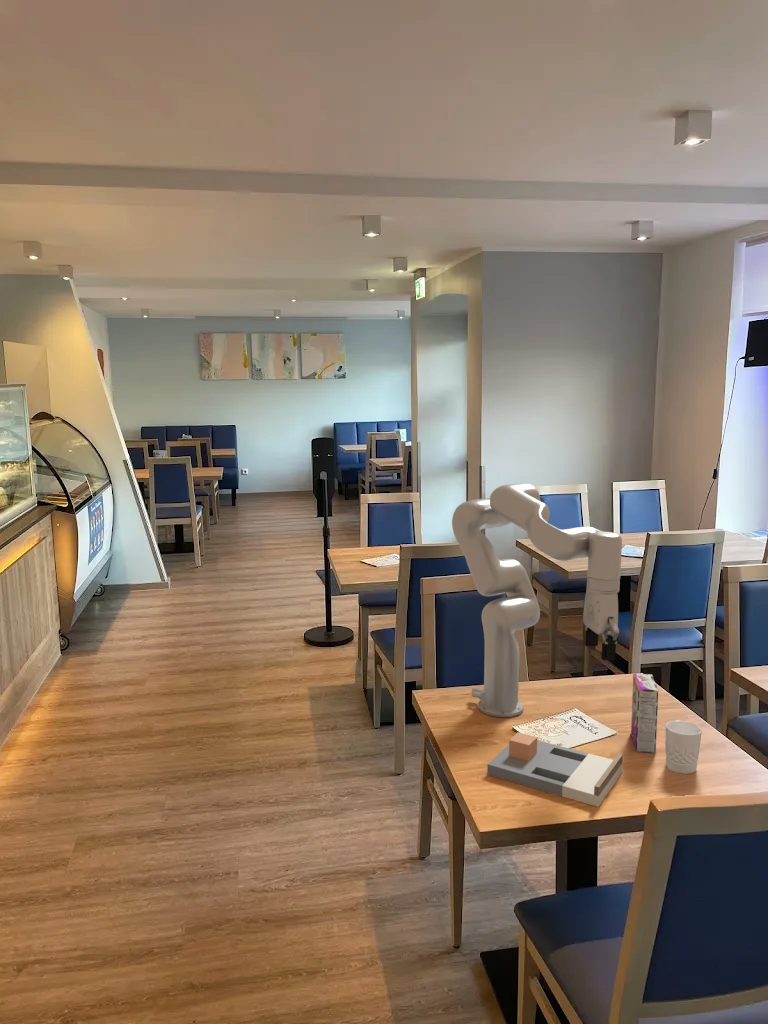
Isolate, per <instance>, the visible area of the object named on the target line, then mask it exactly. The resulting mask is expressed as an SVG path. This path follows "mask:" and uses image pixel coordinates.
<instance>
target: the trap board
mask: <svg viewBox="0 0 768 1024" xmlns="http://www.w3.org/2000/svg"><path fill="white" fill-rule="evenodd" d="M623 760H624V754H623V753H619V752H618V753H617V755H616V756H615V757H614V759H612V758H608V757H604V756H600V755H596V754H592V753H589V752H584V751H580V750H576V749H574V748H570V747H566V746H561V745H558V744H554V743H549V742H546V741H542V740H538V739H537V753H536V754H535V755H534V757H533V758H532V759H531V760H530V761H526V760H522V759H518V758H515V757H511V756H509V744H507V745H506V746H505V747H504V748H503V749H502V750H501V751H500V752H499V753H497V755H496V756H494V757H493V759H491V761H489V762H488V763H487V764H486V765H487V770H486V772H487V775H489V776H491V775H492V777H495V776H496V777H495V778H499V779H503V780H506V781H507V782H508V781H509V782H512V783H515V784H519V785H523V786H525V787H529V788H532V789H536V790H539V791H543V792H546V793H550V794H553V795H556V796H560V797H563V798H566V799H570V800H572V801H577V802H579V803H582V804H583V803H584V804H586V805H589V806H593V807H596V808H598V807H599V806H600V805H601V804H602V802H603V801H604V799H605V798H606V796H607V795H608V794H609V792H610V791H611V790H612V788H613V786H615V785H614V784H615V783H616V782H617V780H619V777H620V776H621V775H622V773H623V764H624V761H623Z"/></svg>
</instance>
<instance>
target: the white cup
mask: <svg viewBox="0 0 768 1024" xmlns="http://www.w3.org/2000/svg"><path fill="white" fill-rule="evenodd" d="M702 731H703V730H702V728H701V727H700V726H699V725H698V724H696V723H693V722H690V721H685V720H678V719H677V720H676V719H675V720H670V721H668V722H665V740H664V741H665V743H664V744H665V766H666V767H667V769H668V770H669V771H672V772H674V773H677V774H681V773H682V775H683V774H684V775H688V774H694V773H696V772H697V767H698V760H699V754H700V749H701V739H702Z"/></svg>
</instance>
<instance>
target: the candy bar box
mask: <svg viewBox="0 0 768 1024" xmlns="http://www.w3.org/2000/svg"><path fill="white" fill-rule="evenodd" d="M632 674H633V675H632V696H631V697H632V698H631V699H632V700H631V726H630V733H631V737H632V740H633V744H634V747H635V752H639V753H648V754H655V753H657V752H656V749H657V728H658V707H659V706H658V705H659V701H658V700H659V689H658V687H657V684H656V681H655V679H654V676H653V674H649V673H637V672H635V673H632Z"/></svg>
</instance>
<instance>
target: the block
mask: <svg viewBox="0 0 768 1024" xmlns="http://www.w3.org/2000/svg"><path fill="white" fill-rule="evenodd" d="M537 740H538V737H537V736H533V735H531V734H526V733H522V732H519V731H517V732H516V733H515V734H514V735H513V736H512V737H511V738H510V739H509V741H508V745H509V756H511V757H515V758H518V759H522V760H526V761H530V760H531V759H532V758H533V757H534V755H535V754H536V753H537Z"/></svg>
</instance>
